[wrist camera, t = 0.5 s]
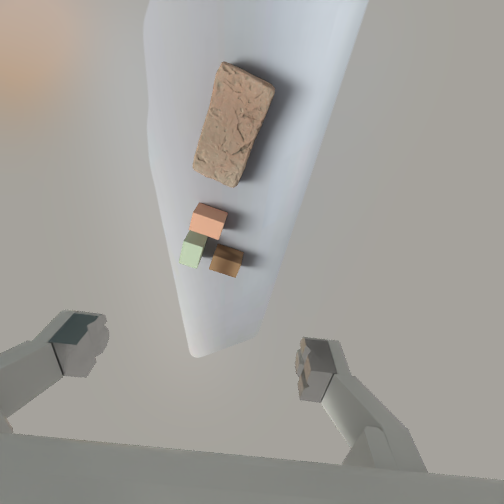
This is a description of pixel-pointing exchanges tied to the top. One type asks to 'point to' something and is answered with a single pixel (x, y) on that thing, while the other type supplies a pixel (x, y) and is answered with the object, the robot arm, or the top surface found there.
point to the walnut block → (226, 260)
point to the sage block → (192, 249)
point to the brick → (231, 124)
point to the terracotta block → (208, 221)
